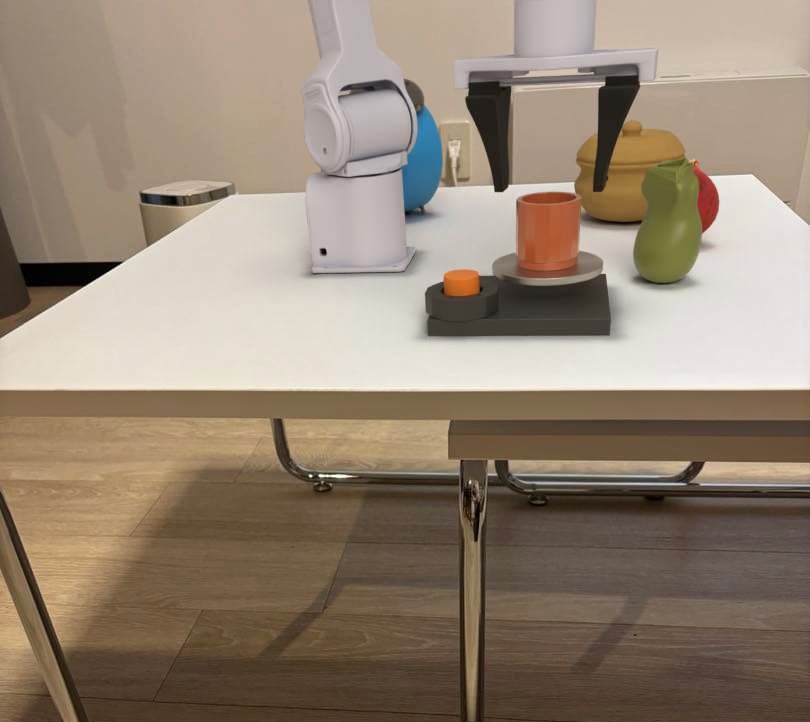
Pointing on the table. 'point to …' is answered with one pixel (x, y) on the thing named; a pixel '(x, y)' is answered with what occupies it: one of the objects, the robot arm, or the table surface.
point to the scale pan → (580, 272)
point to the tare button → (461, 282)
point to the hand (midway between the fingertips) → (549, 189)
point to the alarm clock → (421, 155)
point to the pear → (669, 223)
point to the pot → (624, 171)
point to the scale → (521, 309)
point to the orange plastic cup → (548, 230)
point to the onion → (706, 198)
